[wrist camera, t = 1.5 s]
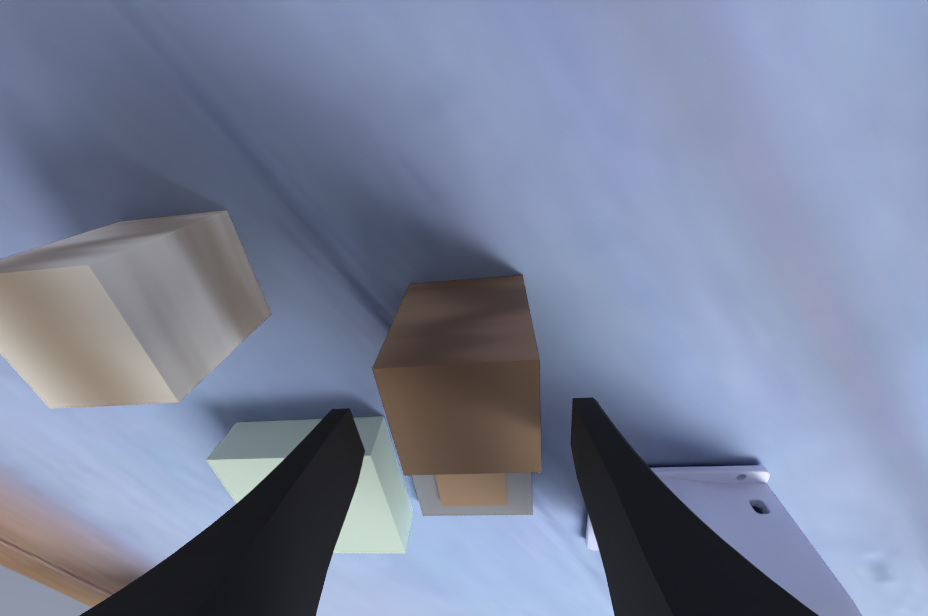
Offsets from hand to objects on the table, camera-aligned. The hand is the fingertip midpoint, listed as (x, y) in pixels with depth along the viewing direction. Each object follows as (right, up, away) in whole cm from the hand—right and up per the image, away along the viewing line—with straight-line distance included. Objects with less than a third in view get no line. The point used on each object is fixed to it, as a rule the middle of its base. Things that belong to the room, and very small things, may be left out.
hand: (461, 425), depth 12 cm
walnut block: (0, +3, +5) cm, 6 cm away
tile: (+1, -6, +10) cm, 12 cm away
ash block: (-12, +6, +5) cm, 14 cm away
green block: (-8, -6, +12) cm, 16 cm away
